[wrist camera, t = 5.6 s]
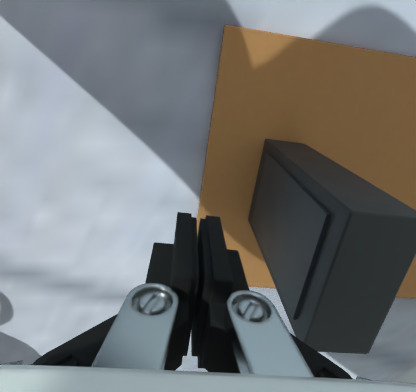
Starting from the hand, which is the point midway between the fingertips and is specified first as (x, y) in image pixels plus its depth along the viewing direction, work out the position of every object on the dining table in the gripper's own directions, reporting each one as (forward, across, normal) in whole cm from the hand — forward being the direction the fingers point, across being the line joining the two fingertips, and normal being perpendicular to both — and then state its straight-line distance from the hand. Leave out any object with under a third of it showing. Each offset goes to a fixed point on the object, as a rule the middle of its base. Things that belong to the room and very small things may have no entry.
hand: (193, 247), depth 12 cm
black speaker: (+9, -6, 0) cm, 11 cm away
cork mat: (+9, -13, 0) cm, 16 cm away
